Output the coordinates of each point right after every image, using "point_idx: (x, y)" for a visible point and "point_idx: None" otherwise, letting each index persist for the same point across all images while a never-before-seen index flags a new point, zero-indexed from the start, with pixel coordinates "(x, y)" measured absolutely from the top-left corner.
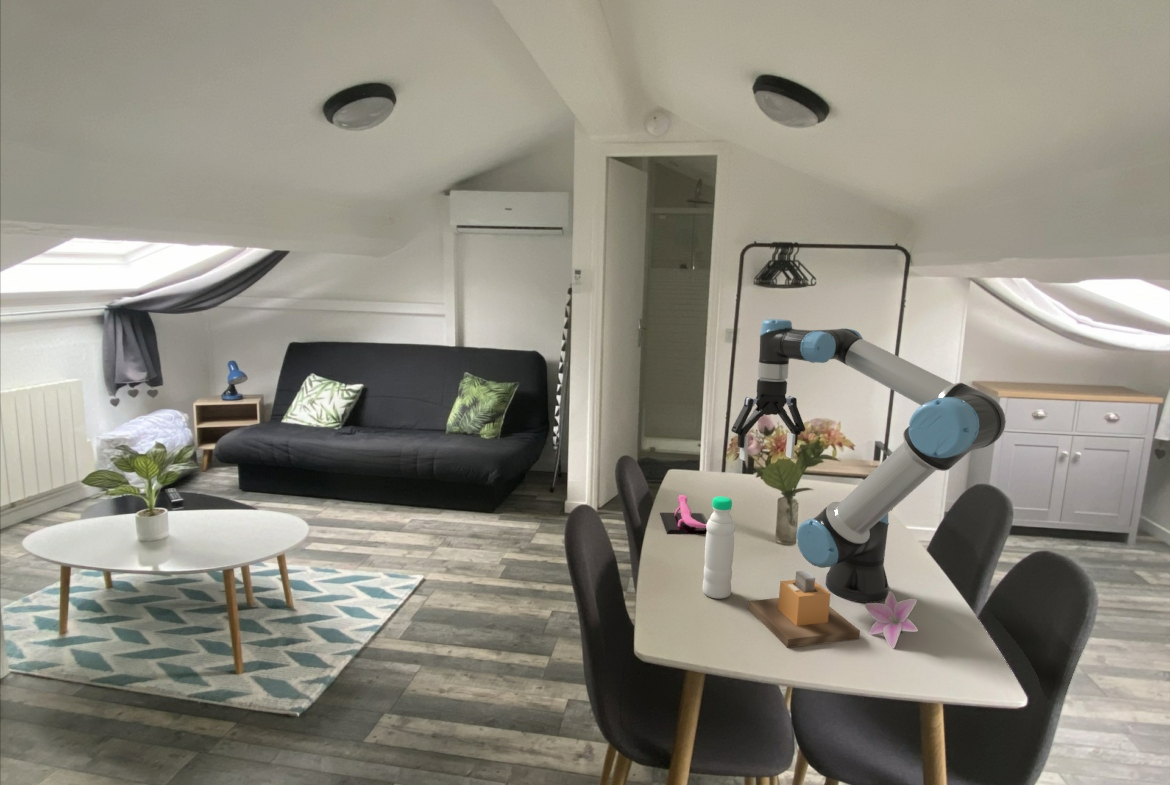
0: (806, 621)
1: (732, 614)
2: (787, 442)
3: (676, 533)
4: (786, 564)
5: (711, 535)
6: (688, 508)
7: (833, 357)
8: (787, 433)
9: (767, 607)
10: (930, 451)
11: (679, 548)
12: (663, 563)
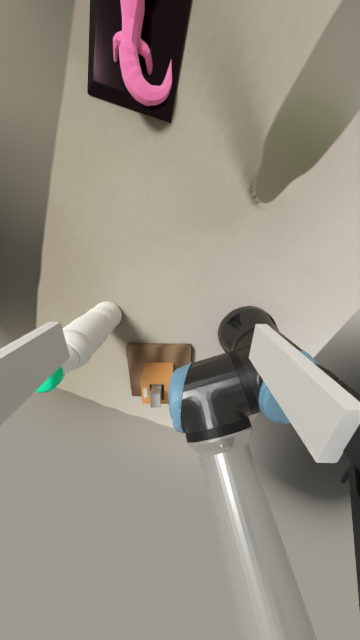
0: None
1: (111, 348)
2: (289, 366)
3: (105, 99)
4: (216, 265)
5: None
6: None
7: None
8: (336, 405)
9: (137, 358)
10: None
11: (97, 177)
12: (65, 228)
